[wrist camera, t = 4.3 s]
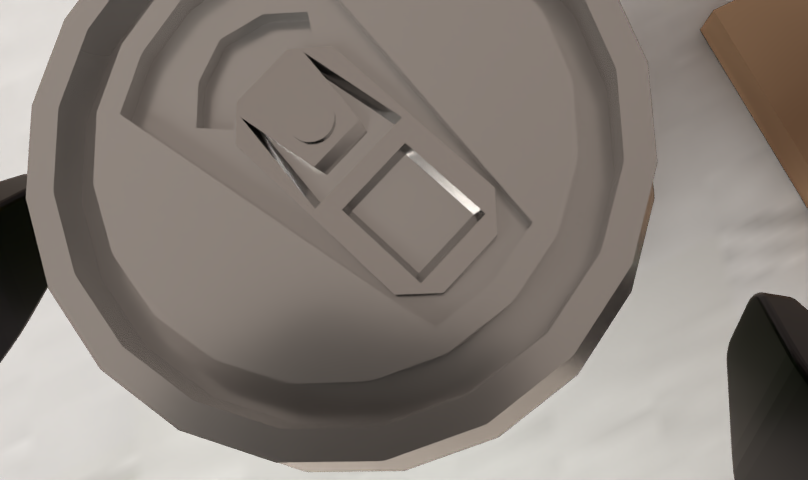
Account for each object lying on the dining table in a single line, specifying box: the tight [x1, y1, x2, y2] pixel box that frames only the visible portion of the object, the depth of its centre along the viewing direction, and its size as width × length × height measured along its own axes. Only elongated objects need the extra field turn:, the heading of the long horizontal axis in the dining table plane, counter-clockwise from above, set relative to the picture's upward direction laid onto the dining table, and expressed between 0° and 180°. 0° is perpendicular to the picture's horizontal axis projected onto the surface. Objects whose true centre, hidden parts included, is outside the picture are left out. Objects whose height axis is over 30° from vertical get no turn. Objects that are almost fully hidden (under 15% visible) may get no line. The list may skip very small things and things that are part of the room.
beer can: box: [26, 0, 657, 472], centre depth 11 cm, size 5×5×12 cm
